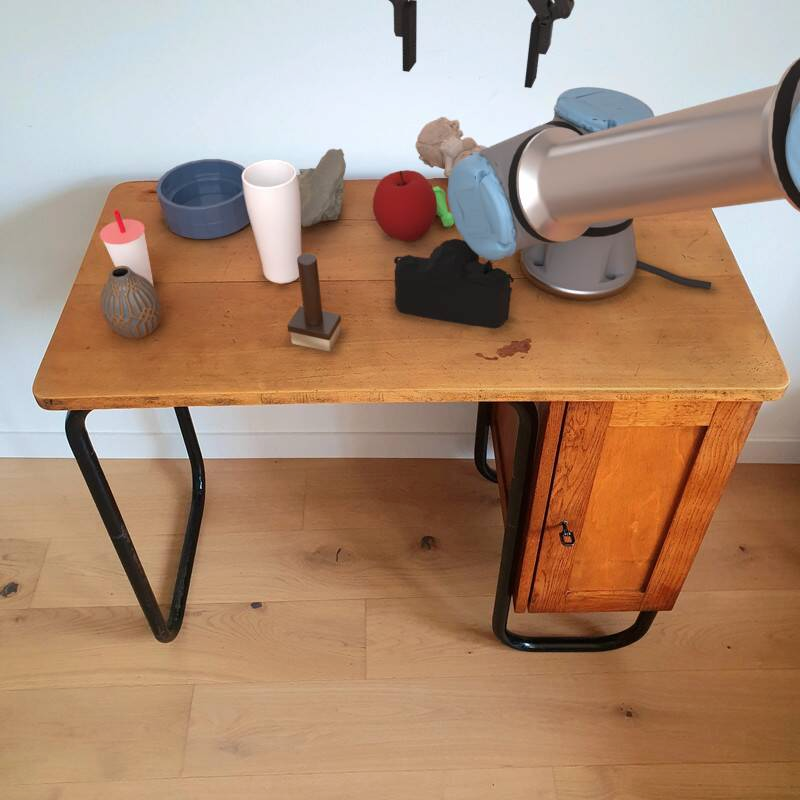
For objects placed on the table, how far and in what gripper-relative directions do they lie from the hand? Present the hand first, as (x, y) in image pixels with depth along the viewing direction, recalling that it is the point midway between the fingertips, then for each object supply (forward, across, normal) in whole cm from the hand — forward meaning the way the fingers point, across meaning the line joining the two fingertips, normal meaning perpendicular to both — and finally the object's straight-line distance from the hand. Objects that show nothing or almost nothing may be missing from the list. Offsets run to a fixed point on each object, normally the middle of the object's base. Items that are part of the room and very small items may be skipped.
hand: (468, 74), depth 85 cm
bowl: (+27, -38, +2) cm, 46 cm away
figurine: (+22, -11, +26) cm, 36 cm away
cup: (+27, -39, -16) cm, 50 cm away
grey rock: (+27, -24, +7) cm, 37 cm away
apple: (+27, -10, +6) cm, 29 cm away
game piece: (+25, -8, +13) cm, 29 cm away
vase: (+27, -35, -23) cm, 50 cm away
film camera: (+27, +1, -6) cm, 28 cm away
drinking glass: (+27, -22, -7) cm, 36 cm away
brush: (+27, -13, -18) cm, 35 cm away
